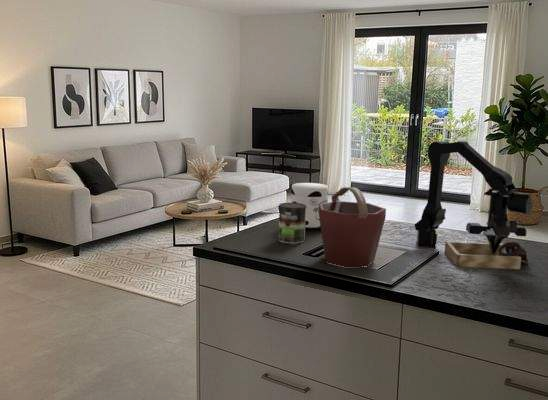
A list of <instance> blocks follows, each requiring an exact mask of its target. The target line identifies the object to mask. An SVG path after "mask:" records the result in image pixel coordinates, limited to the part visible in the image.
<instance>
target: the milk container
mask: <svg viewBox="0 0 548 400" xmlns="http://www.w3.org/2000/svg"><path fill="white" fill-rule="evenodd" d="M290 193H291V194H290V201H291V202H290V203H301V204H304V205H306V217H305V230H321V226H320V219H319V204H322V203H329V186H328V185H327V184H324V183H317V182H297V183H293V184H291V192H290Z"/></svg>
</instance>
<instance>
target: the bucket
mask: <svg viewBox="0 0 548 400" xmlns="http://www.w3.org/2000/svg"><path fill="white" fill-rule="evenodd" d="M348 191H350V192H352V194H353V196H354V198H355V200H356V201H346V200H345V201H343V200H342V201H341V200H340V199H339V197H342V196H343V195H345V194H346V193H347V192H348ZM386 210H387V208H385V207H381V206H379V205H375V204H373V203H370V202H369V203H368V202H367V201H366V198H365V196H364V194H363V192H362V190H360V189H359V188H357V187H354V186H353V187H350V186H347V187H346V186H345V187H344V186H343V187H341V188H340V189H339V190H338V191H336V192H335V193H333V194H332V195H331V202H330V201H329V202H328V203H322V204H319V219H320V226H321V229H320V232H321V238H322V239H321V240H322V244H323V245H322V246H323V253H324V259H325V260H324V261H325V263H326V262H328V263H332V264H336V265H340V266H344V267H362V266H363V267H364V266H368V265H369V264H370V263H371V262H373V261H374V262H375V259H376V253H377V252H378V248H379V243H380V239H381V237H382V236H381V235H382V232H383V229H384V225H385V222H386V221H385V220H386V215H387V211H386ZM374 262H373V263H374ZM369 266H370V265H369ZM369 266H368V267H369Z"/></svg>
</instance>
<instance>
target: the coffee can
mask: <svg viewBox="0 0 548 400" xmlns="http://www.w3.org/2000/svg"><path fill="white" fill-rule="evenodd" d="M278 207H279V210H278V211H279V213H278V239H279V241H281V242H285V243H300V242H303V241H304V240H305V239H306V237H305V236H306V235H305V234H306V229H305V217H306V205H304V204H301V203H291V202H282V203H279V205H278ZM279 241H278V242H279ZM281 242H280V243H281ZM285 243H284V244H285Z"/></svg>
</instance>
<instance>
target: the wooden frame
mask: <svg viewBox="0 0 548 400" xmlns="http://www.w3.org/2000/svg"><path fill="white" fill-rule="evenodd" d="M503 244H504V243H500V245H499V247H500V246H501V245H503ZM499 247H498V248H497V250H496V252H495V254H492V252H491V248H490V245H489V242H468V241H467V242H465V241H464V242H463V241H445V242H444V253H445V255H446V256H447V257H448V258H449V259H450V260H451V262H452V263H453V264H454V265H455V267H464V268H484V269H485V268H486V269H487V268H488V269H504V270H509V269H510V270H521V264H522V263H521V262H522V260H521V257H517V256H498V252H499V250H498V249H499ZM501 252H502V253H505V248H503V249H502V250H501Z"/></svg>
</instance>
